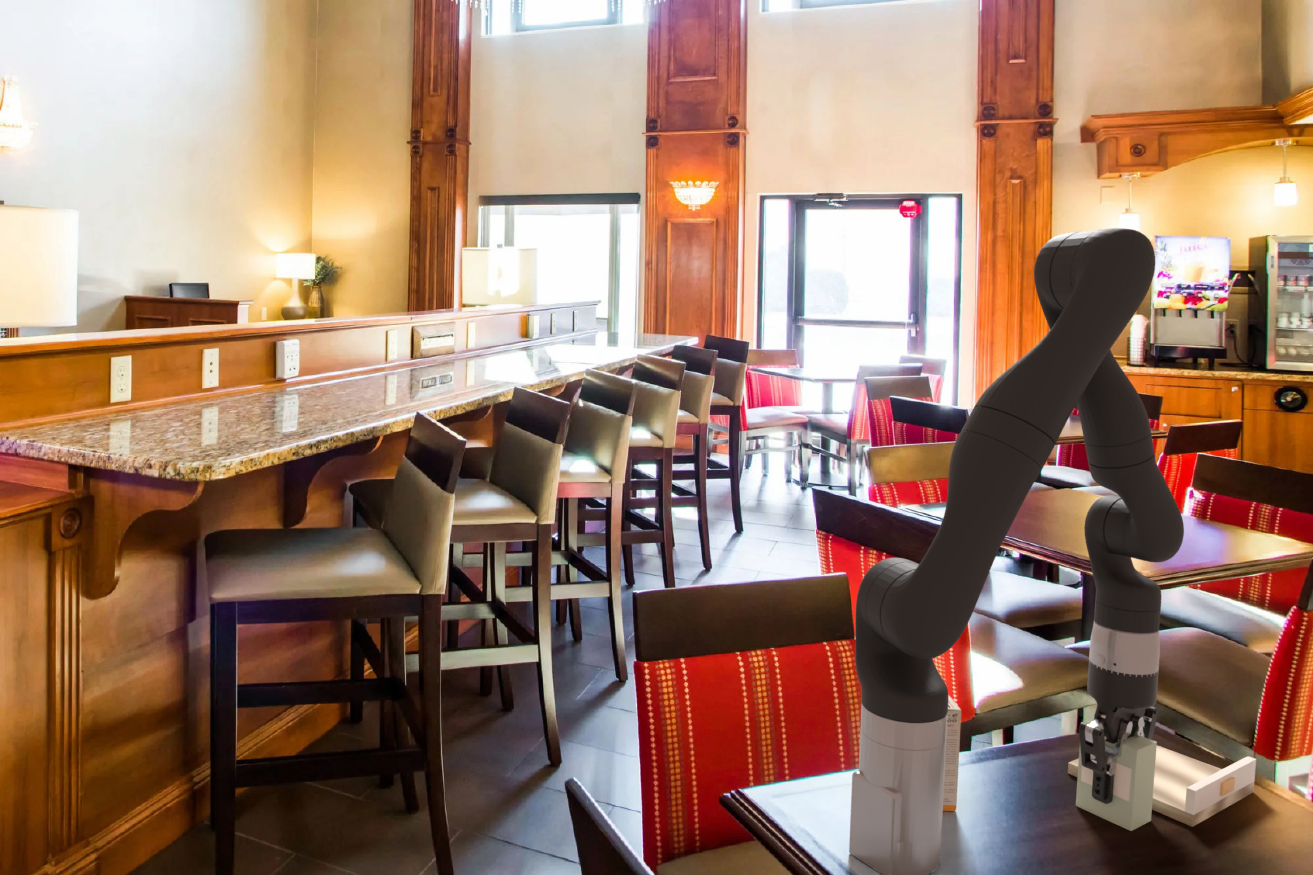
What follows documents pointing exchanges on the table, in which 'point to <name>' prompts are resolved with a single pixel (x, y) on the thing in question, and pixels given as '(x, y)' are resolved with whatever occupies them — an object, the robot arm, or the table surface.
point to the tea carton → (1123, 785)
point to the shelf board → (1194, 785)
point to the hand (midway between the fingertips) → (1114, 794)
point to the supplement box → (952, 756)
